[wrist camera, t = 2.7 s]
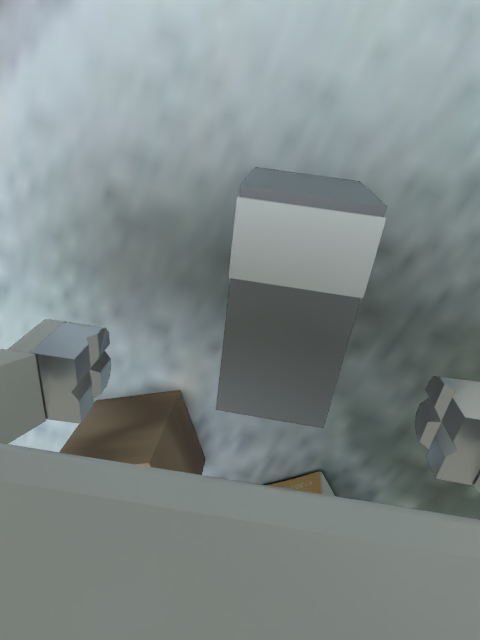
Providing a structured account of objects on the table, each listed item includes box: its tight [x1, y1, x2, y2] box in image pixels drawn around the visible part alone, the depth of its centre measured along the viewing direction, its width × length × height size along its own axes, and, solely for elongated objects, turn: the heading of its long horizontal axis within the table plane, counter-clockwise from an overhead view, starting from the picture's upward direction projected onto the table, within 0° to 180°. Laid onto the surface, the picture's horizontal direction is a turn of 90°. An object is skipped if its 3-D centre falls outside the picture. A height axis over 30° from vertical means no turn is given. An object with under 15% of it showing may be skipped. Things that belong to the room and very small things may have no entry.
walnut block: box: [59, 390, 205, 475], centre depth 20 cm, size 5×5×5 cm
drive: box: [216, 167, 387, 428], centre depth 15 cm, size 4×8×5 cm, turn 173°
